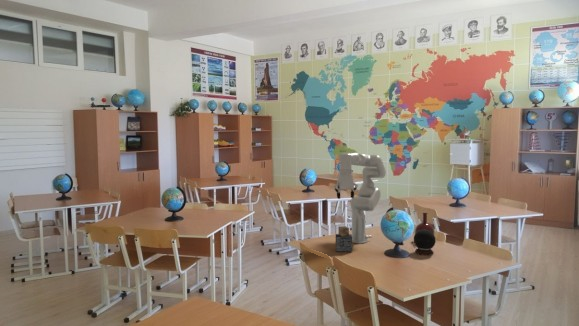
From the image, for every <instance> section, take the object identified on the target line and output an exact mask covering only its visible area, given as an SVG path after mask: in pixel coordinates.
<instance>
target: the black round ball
mask: <svg viewBox="0 0 579 326" xmlns="http://www.w3.org/2000/svg"><path fill="white" fill-rule="evenodd" d="M436 241H437V240H436V236H435V234H433V233H432V232H431V231H429V230H426V229H422V230H419V231H417V232H416V234H415V233H414V235H413V243H414V245H415V247H416V249H415V251H414V253H415V254H416V255H420V256H421V255H422V256H433V255H434V253H435V252H434V251H433V249H432V248H434V246H435V244H436Z"/></svg>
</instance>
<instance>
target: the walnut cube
mask: <svg viewBox="0 0 579 326" xmlns="http://www.w3.org/2000/svg"><path fill="white" fill-rule="evenodd" d="M338 234H339V235H340V236H349V234H350V227H348V226H338Z"/></svg>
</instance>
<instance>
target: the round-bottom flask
mask: <svg viewBox="0 0 579 326" xmlns="http://www.w3.org/2000/svg"><path fill="white" fill-rule="evenodd" d="M427 221H428V212H422V222H420V223H419V224H417V225H416V226H415V229H414V235H415V234H416V232H417V231H419V230H422V229H426V230H429V231H431V232H432V233H433V234H434V235H435V234H436V233H435V229H434V227H433V225H432V224H431V223H428V222H427Z"/></svg>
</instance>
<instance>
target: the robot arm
mask: <svg viewBox="0 0 579 326" xmlns="http://www.w3.org/2000/svg"><path fill="white" fill-rule="evenodd" d="M337 157H338V162H339V174H338V176H337V182H336V184H333V186H332V188H333V190H334V191H335V192H336V198H337V199H338V200H340V199H341V191H342V190H343V191H345V190H350V210H351V234H352V244H365V243H368V239H372V238H373V237H372V235H370V234H369V235H368V234H366V214H365V212H373V211H375V209H376V208H377V205H378V204H379V201H380V199H381V189H379V188H378V187H375V182H374V181H373V180H372V179H383V178H385V176H386V175H387V174H386V173H387V171H386V168H385V165H384V162H383V159H382V158H381V157H380V156H379V155H378V154H376V155H375V154H365V153H364V154H363V153H358V152H341V153H339V154H338V156H337ZM352 166H358V167H359V166H360V167H363V169H362V174H361V175H362V184H361V186H360V188H359V190H358V191H357V196H355V192H356V190H357V188H358V186H359V184H356V183H355V182H354V178H353V177H354V176H353V174H352V173H353V172H354V170H352Z"/></svg>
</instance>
